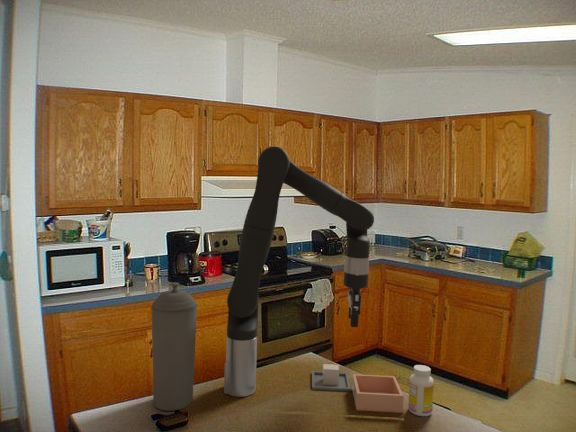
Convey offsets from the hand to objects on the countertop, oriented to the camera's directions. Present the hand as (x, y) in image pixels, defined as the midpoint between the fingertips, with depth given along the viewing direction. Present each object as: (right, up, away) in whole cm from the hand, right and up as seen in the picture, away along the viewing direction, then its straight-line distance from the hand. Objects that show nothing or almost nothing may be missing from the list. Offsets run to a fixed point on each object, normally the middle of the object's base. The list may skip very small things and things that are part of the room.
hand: (352, 322), depth 141 cm
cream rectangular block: (-6, -20, +5) cm, 22 cm away
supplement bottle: (+18, -23, -11) cm, 31 cm away
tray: (-6, -21, +5) cm, 23 cm away
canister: (-53, -21, -11) cm, 58 cm away
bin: (+6, -22, -6) cm, 24 cm away
